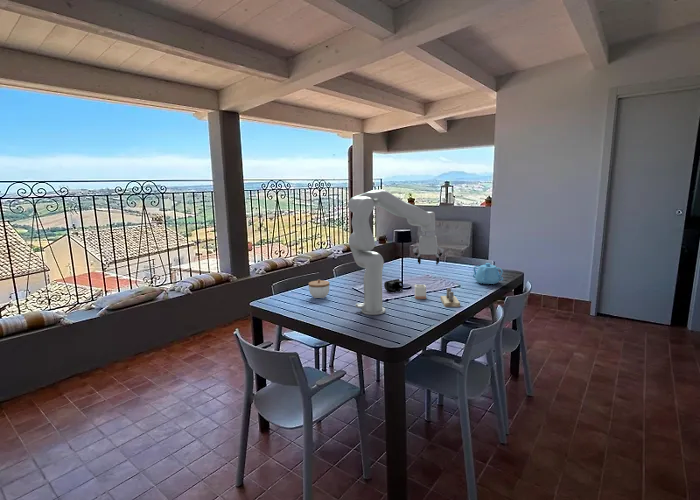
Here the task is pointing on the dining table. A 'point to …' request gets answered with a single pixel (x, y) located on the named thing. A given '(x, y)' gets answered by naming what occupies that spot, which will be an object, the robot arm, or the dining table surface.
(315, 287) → the lidded bowl
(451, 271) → the dining table surface
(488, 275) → the decorative pot
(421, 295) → the sleeve
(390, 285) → the end cap
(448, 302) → the pin board
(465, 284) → the dining table surface
